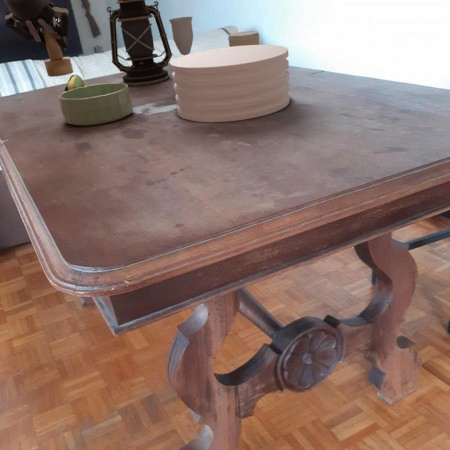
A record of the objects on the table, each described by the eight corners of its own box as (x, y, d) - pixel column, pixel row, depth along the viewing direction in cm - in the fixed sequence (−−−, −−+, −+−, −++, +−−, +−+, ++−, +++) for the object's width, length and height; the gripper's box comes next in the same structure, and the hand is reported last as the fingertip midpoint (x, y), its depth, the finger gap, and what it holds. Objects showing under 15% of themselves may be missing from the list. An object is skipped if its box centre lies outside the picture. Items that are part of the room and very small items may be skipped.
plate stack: (200, 94, 133) (194, 49, 127) (299, 90, 125) (298, 41, 118) (159, 123, 112) (150, 70, 105) (275, 120, 103) (273, 63, 97)
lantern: (114, 89, 153) (89, -23, 136) (118, 80, 166) (96, -23, 148) (176, 81, 153) (159, -31, 136) (175, 73, 166) (160, -31, 149)
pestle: (46, 77, 103) (29, 19, 97) (50, 73, 108) (34, 17, 101) (71, 74, 103) (56, 16, 97) (74, 70, 108) (60, 14, 102)
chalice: (177, 86, 147) (167, 19, 136) (199, 82, 147) (191, 16, 137) (180, 90, 141) (170, 20, 130) (202, 87, 141) (194, 17, 131)
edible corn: (86, 87, 161) (83, 72, 159) (80, 99, 145) (76, 83, 142) (71, 89, 161) (67, 74, 158) (64, 101, 145) (59, 86, 142)
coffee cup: (236, 74, 152) (233, 32, 145) (264, 73, 149) (262, 30, 142) (227, 81, 145) (223, 36, 138) (257, 79, 142) (254, 34, 135)
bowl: (61, 131, 116) (53, 103, 112) (69, 114, 130) (62, 88, 126) (133, 120, 117) (127, 92, 113) (133, 104, 131) (128, 79, 127)
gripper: (52, -39, 88) (87, 29, 105) (-20, -30, 89) (27, 36, 106) (52, -4, 86) (87, 59, 103) (-21, 5, 87) (26, 66, 104)
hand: (56, 47), depth 104 cm, fingers closed on pestle, 3 cm apart
